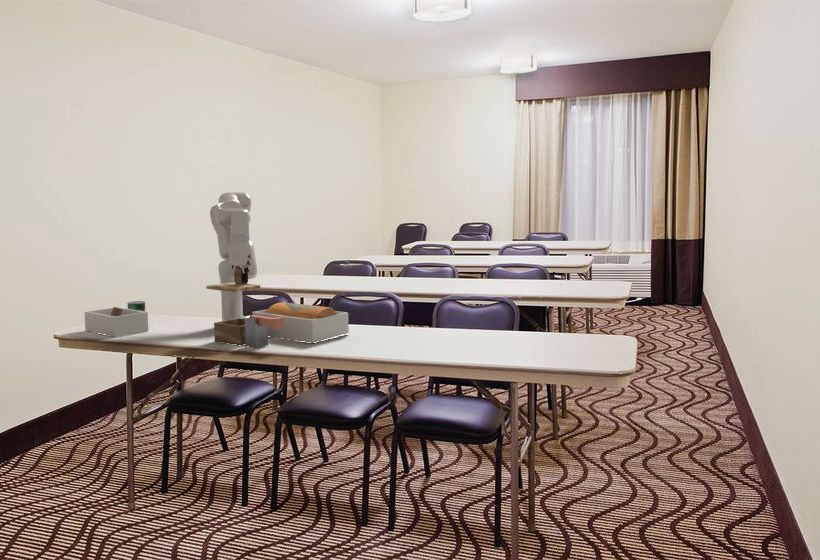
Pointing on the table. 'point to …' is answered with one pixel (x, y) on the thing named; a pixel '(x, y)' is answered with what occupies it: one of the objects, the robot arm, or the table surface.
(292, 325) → the frame
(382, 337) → the table surface
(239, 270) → the lid
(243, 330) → the brown open box
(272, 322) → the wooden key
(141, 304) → the canned tomato
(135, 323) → the frame
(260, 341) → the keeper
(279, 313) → the orange brown curved block
